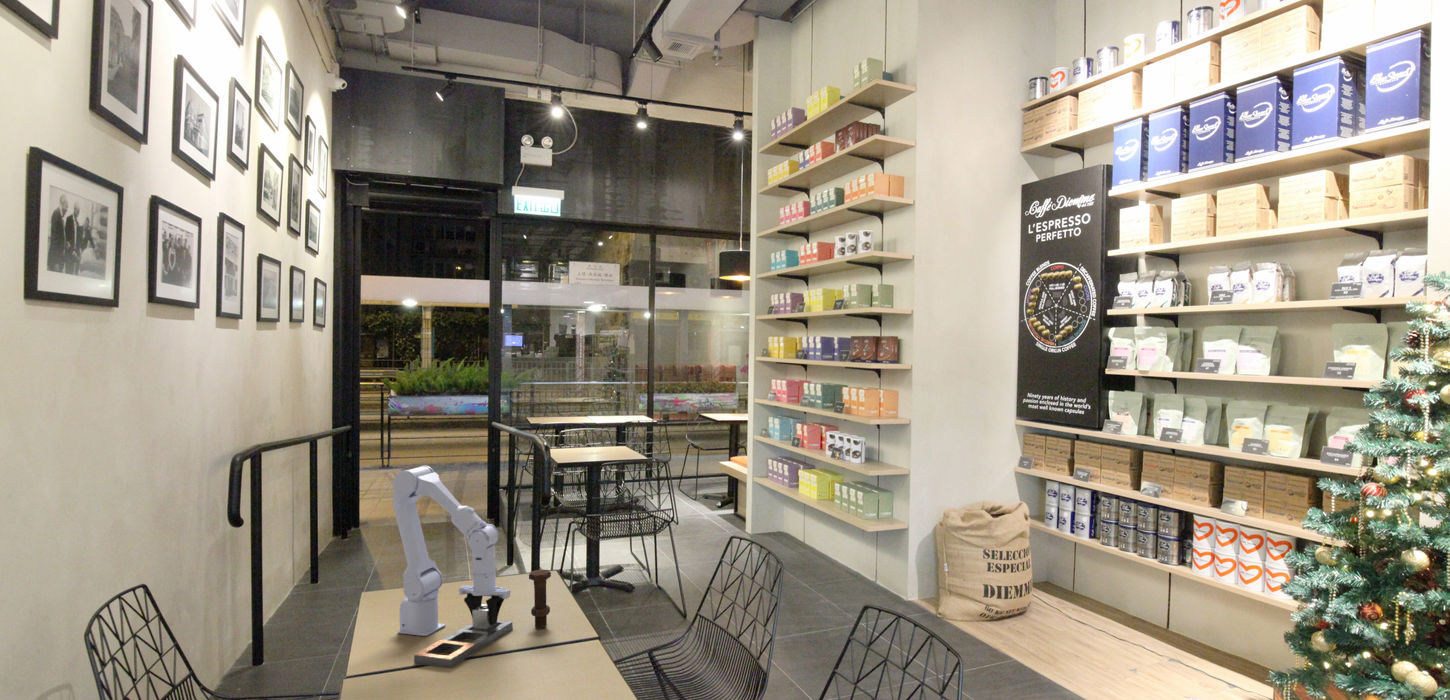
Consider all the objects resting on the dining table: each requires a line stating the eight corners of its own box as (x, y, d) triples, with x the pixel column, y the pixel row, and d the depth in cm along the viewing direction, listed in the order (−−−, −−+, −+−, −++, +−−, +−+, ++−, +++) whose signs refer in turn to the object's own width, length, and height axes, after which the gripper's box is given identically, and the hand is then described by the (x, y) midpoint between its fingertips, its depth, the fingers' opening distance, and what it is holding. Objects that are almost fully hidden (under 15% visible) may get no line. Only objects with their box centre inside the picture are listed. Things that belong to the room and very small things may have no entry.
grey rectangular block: (472, 636, 194) (472, 609, 194) (483, 629, 198) (482, 603, 198) (487, 637, 192) (486, 610, 192) (497, 631, 197) (497, 604, 197)
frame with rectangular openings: (414, 663, 177) (414, 654, 177) (479, 625, 201) (479, 617, 201) (450, 668, 174) (450, 659, 174) (512, 629, 198) (512, 621, 198)
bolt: (544, 631, 196) (543, 575, 196) (527, 630, 197) (526, 574, 197) (554, 623, 201) (553, 569, 202) (537, 622, 202) (536, 568, 203)
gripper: (451, 574, 193) (452, 625, 193) (498, 578, 189) (499, 630, 189) (468, 566, 200) (469, 616, 200) (514, 570, 196) (515, 621, 196)
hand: (485, 622), depth 195 cm, fingers closed on grey rectangular block, 4 cm apart
